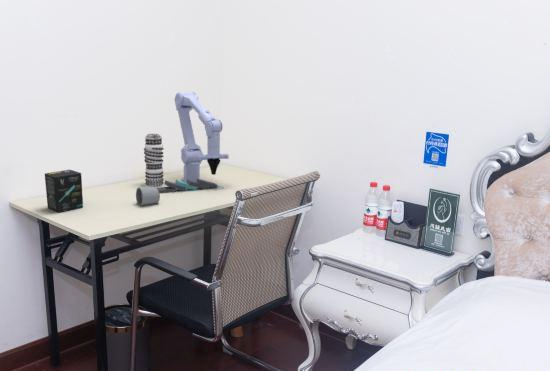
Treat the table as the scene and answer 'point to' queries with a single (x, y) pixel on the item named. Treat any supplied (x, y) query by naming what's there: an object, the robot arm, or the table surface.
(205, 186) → the black domino
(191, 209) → the table surface
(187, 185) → the teal domino
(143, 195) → the grey cylinder
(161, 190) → the black domino
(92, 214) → the table surface
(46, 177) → the tampon box
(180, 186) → the black domino
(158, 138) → the decorative candle
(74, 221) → the table surface
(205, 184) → the black domino
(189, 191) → the sage board
